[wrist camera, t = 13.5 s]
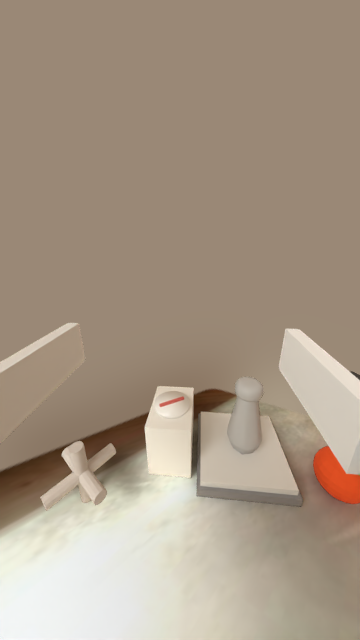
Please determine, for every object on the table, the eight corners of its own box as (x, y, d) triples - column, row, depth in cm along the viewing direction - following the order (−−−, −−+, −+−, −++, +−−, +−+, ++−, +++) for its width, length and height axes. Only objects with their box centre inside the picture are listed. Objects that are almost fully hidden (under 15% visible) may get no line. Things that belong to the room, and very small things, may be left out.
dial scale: (144, 490, 32) (139, 437, 28) (162, 416, 46) (160, 374, 43) (301, 506, 30) (316, 450, 26) (269, 423, 44) (276, 379, 40)
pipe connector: (100, 452, 38) (92, 409, 35) (134, 491, 32) (128, 442, 29) (39, 500, 31) (21, 451, 28) (67, 562, 25) (49, 508, 22)
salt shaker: (246, 426, 40) (253, 368, 36) (267, 452, 35) (278, 388, 31) (220, 435, 38) (223, 375, 34) (238, 464, 33) (245, 397, 29)
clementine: (386, 517, 28) (403, 481, 26) (345, 532, 27) (360, 496, 25) (333, 462, 36) (343, 430, 34) (299, 471, 34) (307, 439, 32)
